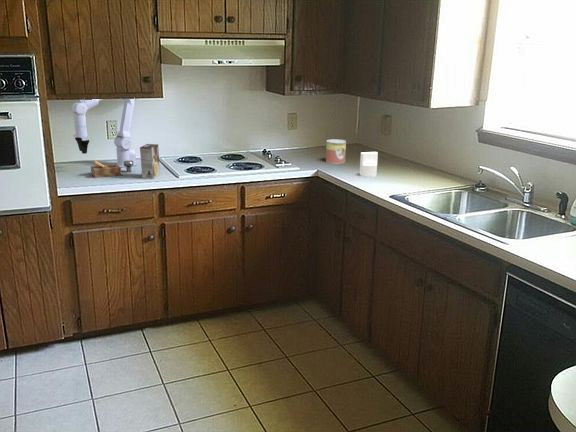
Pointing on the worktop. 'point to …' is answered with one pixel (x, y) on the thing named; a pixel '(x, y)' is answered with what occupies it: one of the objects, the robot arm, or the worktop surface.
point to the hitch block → (105, 170)
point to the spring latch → (98, 163)
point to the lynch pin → (128, 165)
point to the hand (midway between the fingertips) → (83, 152)
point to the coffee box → (150, 161)
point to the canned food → (335, 151)
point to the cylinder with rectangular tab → (368, 164)
